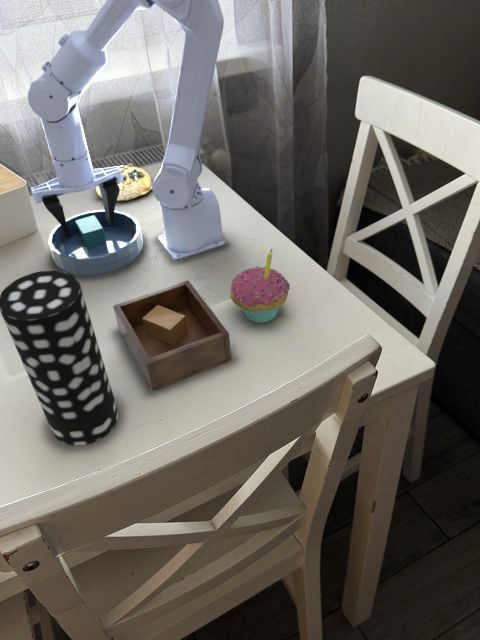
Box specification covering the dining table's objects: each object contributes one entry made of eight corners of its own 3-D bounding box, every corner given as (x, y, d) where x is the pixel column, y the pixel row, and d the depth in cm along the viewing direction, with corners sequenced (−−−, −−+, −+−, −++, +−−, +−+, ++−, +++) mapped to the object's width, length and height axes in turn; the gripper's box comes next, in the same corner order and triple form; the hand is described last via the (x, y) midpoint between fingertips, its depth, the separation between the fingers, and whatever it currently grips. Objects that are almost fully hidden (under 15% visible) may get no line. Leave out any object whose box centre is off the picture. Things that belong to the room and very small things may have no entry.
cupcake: (296, 301, 91) (296, 234, 83) (278, 337, 85) (277, 268, 77) (243, 291, 93) (239, 224, 85) (223, 325, 87) (216, 257, 79)
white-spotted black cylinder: (57, 397, 78) (8, 273, 64) (121, 392, 78) (85, 267, 65) (45, 448, 72) (-12, 323, 58) (115, 442, 72) (74, 317, 59)
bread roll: (125, 170, 124) (122, 148, 120) (165, 191, 120) (163, 169, 116) (85, 194, 118) (80, 172, 114) (125, 217, 114) (122, 195, 110)
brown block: (160, 320, 88) (157, 304, 86) (187, 331, 86) (185, 315, 84) (145, 334, 86) (142, 318, 84) (172, 345, 84) (169, 330, 82)
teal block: (98, 229, 107) (94, 215, 105) (106, 242, 104) (102, 228, 102) (79, 235, 106) (74, 220, 104) (87, 248, 103) (82, 233, 100)
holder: (192, 306, 91) (188, 279, 88) (231, 360, 82) (229, 333, 79) (119, 331, 87) (112, 305, 84) (152, 391, 78) (146, 364, 75)
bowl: (126, 218, 110) (122, 201, 108) (156, 259, 100) (153, 241, 98) (44, 242, 105) (38, 225, 103) (67, 287, 95) (61, 269, 93)
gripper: (106, 133, 99) (121, 206, 108) (17, 154, 94) (41, 228, 103) (120, 149, 94) (134, 224, 104) (27, 172, 89) (52, 248, 99)
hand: (89, 227), depth 103 cm, fingers open, 7 cm apart
